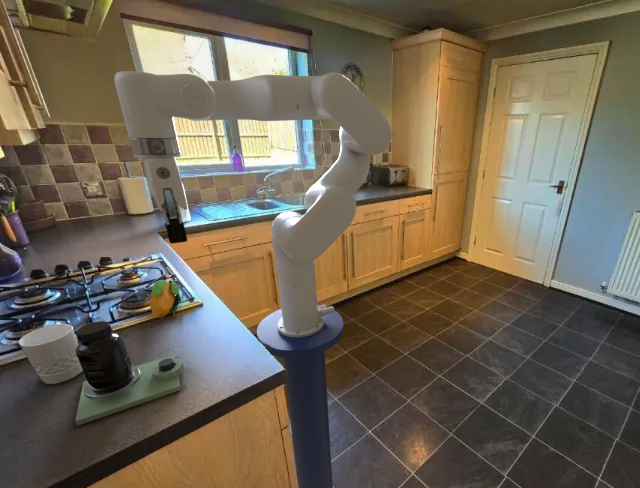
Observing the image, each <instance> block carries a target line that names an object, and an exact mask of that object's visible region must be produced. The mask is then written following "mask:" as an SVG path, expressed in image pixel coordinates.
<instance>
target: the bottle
mask: <svg viewBox="0 0 640 488" xmlns="http://www.w3.org/2000/svg"><path fill="white" fill-rule="evenodd" d="M182 185H183V189H184V194H185V198H186V202H187V206H188V208H187V210H184V208H181V207H180V206H179V209H180V214H181V219H182V221H183V223H188V222H190V221H191V220H192V219H191V214H190V210H189V205H188V199H187V196H186V190H185V186H184V184H183V183H182Z"/></svg>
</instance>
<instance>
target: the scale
mask: <svg viewBox="0 0 640 488" xmlns="http://www.w3.org/2000/svg"><path fill="white" fill-rule="evenodd" d="M167 358H171V359H173V362H174V365H175V366H174V368H173V369H171V370H169V371H166V372H162V371H160V368H159V362H160V361H162V360H164V359H167ZM134 366H135V367H137V368H138V369H139V370H140V373H141V376H140V379H139V380H138V382H137V383H136V384H135V385H134V386H132V387H131V388H130V389H128V390H126V391H125V392H123V393H121V394H118V395H116V396H113V397H110V398H106V399H100V400H93V399H89V398H87V397H86V396H85V395H84V392H83V388H84V386H85V384H86V383H87V382H88V381H87V380H84V381H83V383H82V387H81V392H80V396H79V402H78V407H77V412H76V417H75V420H74V421H75V424H76V426H81V425H84V424H87V423H90V422H92V421H96V420H98V419H102V418H105V417H107V416H110V415H113V414H116V413H118V412H121V411H124V410H127V409H130V408H133V407H135V406H138V405H142V404H144V403H147V402H150V401H153V400H156V399H159V398H162V397H164V396H168V395H170V394H173V393H176V392H178V391H181V390H182V389H181V382H180V378H179V375H180V374H181V373H182V372H183V371H184V363H183V360H182V359H180V358H177V357H176V355H175V354H172V355H169V356H165V357H162V358H158V359H155V360H151V361H147V362H145V363H141V364H139V365H134Z"/></svg>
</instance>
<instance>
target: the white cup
mask: <svg viewBox="0 0 640 488" xmlns="http://www.w3.org/2000/svg"><path fill="white" fill-rule="evenodd" d="M78 344H79V342H78V338H77V335H76V332H75V331H74V327H73V326H72V325H71V324H68V323H57V324H51V325H46V326H43V327H40V328H37V329H35V330H32V331H30V332H29V333H26V334H25V335H23V336H22V337H21V338H20V339H18V345H19V346H20V349H21V350H22V351H23V353H24V354H25V356H26V358H27V360H28V362H29V363H30V365H31V366H32V367H33V369H34V371H35V372H36V373H37V374H38V376H39V378H40V380H41V381H42V383H44V384H46V385H55V384H59V383H64V382H66V381H69V380H71V379H74V378H75V377H77V376H78V375H80V374H81V373H82V372H83V369H82V367H81V365H80V362H79V360H78V358H77V355H76V352H75V350H76V347H77V345H78Z"/></svg>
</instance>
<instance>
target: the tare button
mask: <svg viewBox="0 0 640 488" xmlns="http://www.w3.org/2000/svg"><path fill="white" fill-rule="evenodd" d="M174 366H175V365H174V362H173V359H171V358H167V359H164V360H162V361H160V362H159V368H160V371H162V372H166V371H169V370H171V369H173V368H174Z"/></svg>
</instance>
